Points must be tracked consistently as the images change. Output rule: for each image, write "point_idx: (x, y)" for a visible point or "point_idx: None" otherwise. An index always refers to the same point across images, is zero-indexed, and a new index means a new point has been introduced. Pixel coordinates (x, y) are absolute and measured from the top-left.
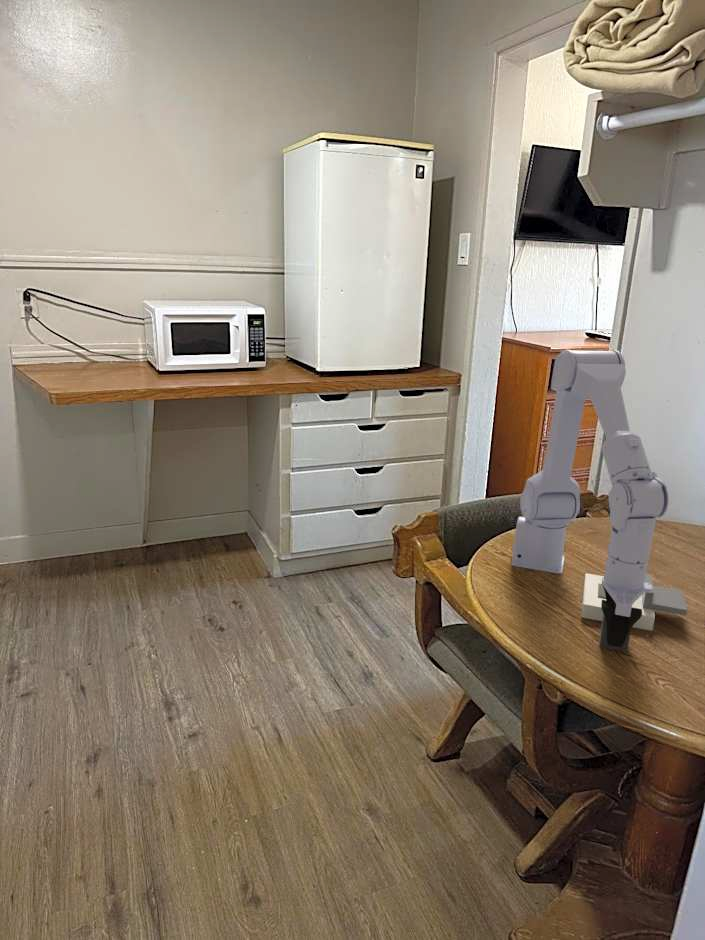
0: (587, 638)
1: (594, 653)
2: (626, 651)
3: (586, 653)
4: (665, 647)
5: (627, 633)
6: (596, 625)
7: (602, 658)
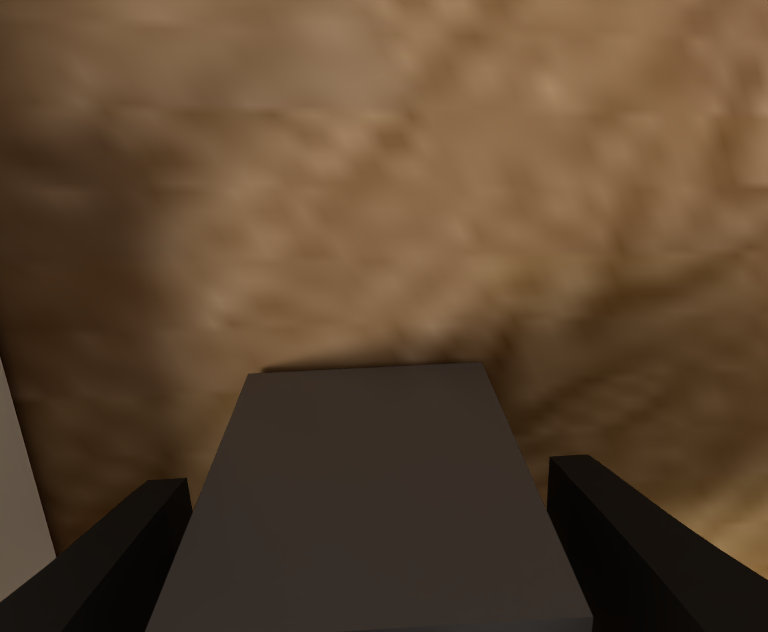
0: None
1: None
2: (482, 369)
3: None
4: (200, 3)
5: (725, 559)
6: None
7: None
